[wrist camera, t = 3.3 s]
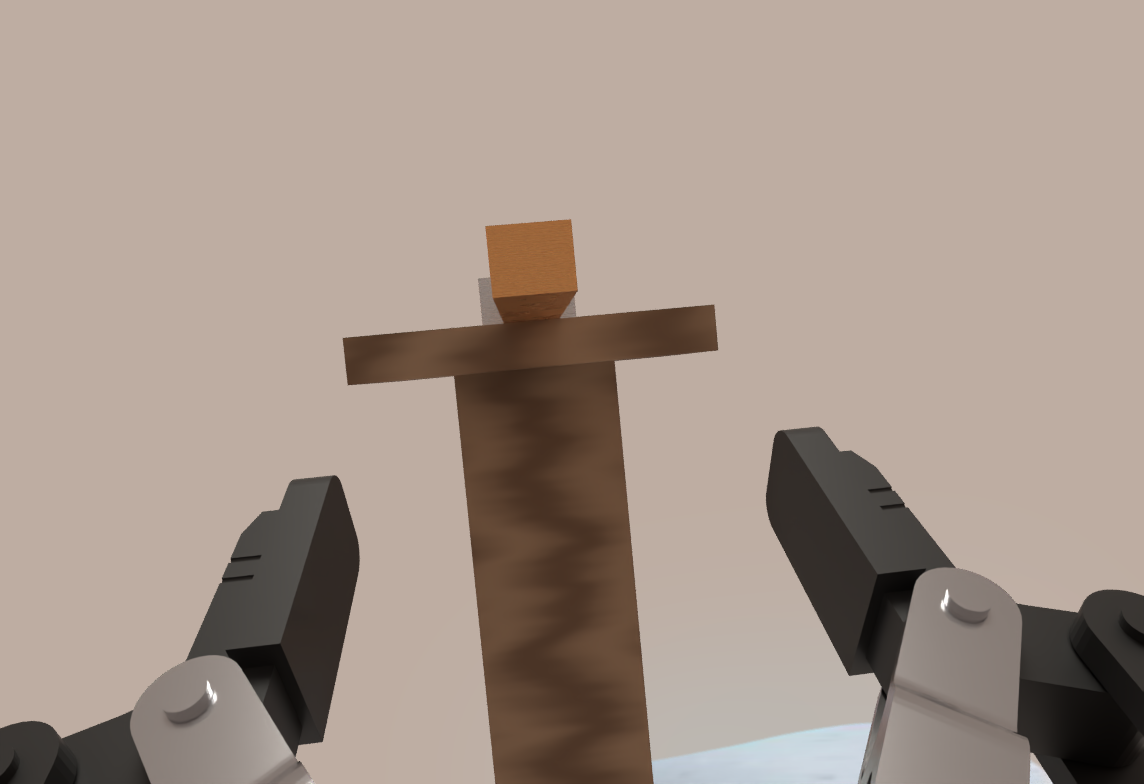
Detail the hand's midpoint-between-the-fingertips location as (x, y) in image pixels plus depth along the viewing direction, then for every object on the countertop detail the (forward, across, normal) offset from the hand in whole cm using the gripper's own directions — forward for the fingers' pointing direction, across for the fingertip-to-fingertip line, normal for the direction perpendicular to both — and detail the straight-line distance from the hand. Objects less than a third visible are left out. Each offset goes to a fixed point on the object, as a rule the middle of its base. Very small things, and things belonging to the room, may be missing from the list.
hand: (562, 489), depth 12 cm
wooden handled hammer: (+17, 0, +5) cm, 18 cm away
